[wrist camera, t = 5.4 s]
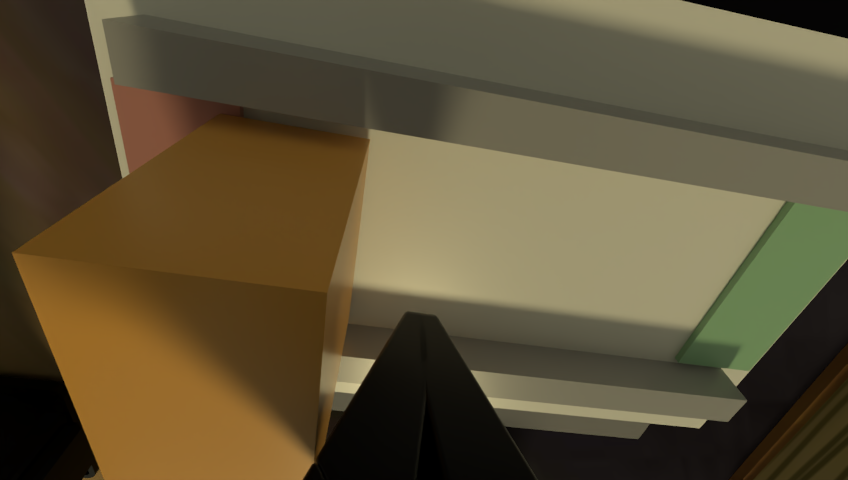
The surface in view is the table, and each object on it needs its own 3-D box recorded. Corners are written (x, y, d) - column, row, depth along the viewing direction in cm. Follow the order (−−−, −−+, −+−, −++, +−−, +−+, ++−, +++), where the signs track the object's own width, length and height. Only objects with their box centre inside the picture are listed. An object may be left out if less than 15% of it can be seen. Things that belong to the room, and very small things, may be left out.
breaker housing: (206, 308, 15) (142, 409, 12) (156, -108, 9) (-15, -169, 5) (657, 362, 17) (721, 461, 14) (870, 53, 11) (1090, 88, 7)
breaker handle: (233, 303, 11) (116, 511, 7) (219, 113, 8) (11, 252, 4) (349, 317, 11) (308, 523, 7) (369, 139, 9) (327, 292, 4)
